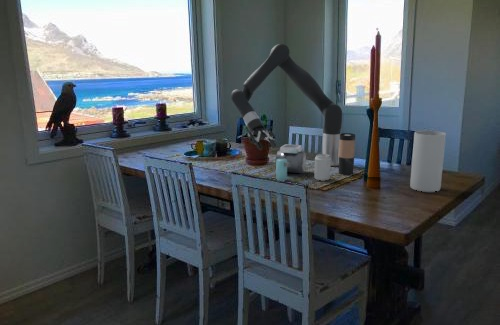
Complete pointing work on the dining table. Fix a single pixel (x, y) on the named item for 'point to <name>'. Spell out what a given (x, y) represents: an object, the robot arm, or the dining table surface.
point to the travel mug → (346, 153)
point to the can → (322, 167)
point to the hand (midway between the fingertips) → (268, 148)
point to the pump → (282, 169)
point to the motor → (293, 157)
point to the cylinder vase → (427, 160)
